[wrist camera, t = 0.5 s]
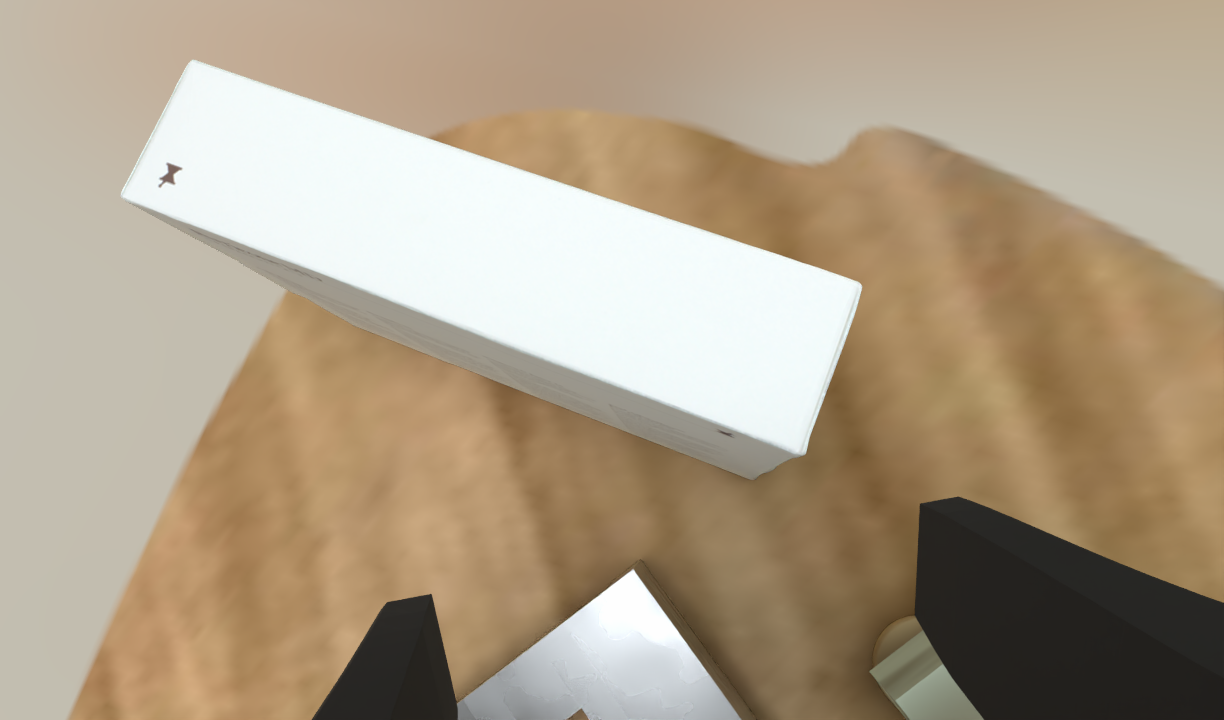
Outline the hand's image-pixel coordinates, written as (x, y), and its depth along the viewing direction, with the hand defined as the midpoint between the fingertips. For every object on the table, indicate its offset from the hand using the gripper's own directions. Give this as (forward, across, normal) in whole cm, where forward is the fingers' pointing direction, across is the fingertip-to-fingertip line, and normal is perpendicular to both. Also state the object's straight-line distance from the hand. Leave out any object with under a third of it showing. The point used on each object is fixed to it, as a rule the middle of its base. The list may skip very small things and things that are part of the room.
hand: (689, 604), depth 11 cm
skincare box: (+26, 0, +5) cm, 26 cm away
